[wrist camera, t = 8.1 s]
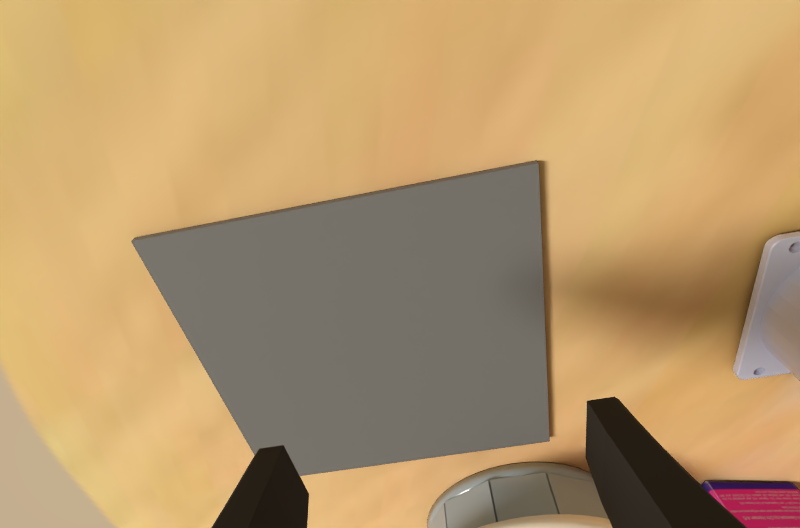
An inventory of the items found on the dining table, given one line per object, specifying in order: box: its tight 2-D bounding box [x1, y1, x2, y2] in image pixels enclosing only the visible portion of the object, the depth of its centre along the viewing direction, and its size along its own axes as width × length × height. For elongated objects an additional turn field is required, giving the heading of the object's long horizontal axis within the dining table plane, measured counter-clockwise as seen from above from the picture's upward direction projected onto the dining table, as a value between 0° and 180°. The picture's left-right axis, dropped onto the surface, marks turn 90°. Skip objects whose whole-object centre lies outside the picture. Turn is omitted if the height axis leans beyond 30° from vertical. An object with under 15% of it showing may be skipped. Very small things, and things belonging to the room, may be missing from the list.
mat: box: [131, 161, 550, 476], centre depth 22 cm, size 16×16×1 cm
